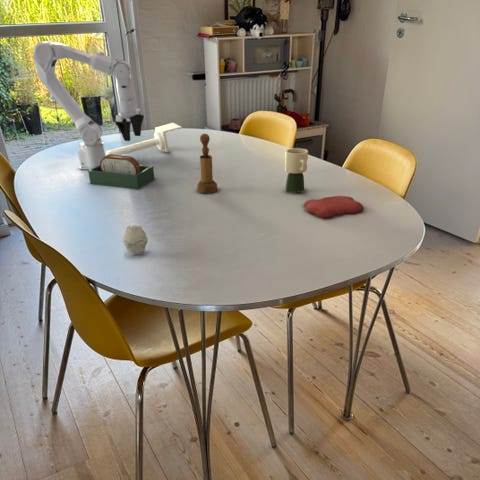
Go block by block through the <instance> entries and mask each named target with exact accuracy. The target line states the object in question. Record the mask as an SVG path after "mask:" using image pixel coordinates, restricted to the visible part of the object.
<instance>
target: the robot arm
mask: <svg viewBox="0 0 480 480" xmlns="http://www.w3.org/2000/svg"><path fill="white" fill-rule="evenodd" d="M32 59H33V61H34V64H35V69H36V74H37V77H38V79H39V81H40V82H41V83H42V84H43V85H44V87H45V88H46V89H47V91H48V92H49V94H51V95H52V97H53V98H54V99H55V101H56V102H57V103H58V104H59V105H60V107H61V109H63V111H64V112H65V113H66V114H67V116H68V117H69V118H70V119H71V121H72V122H73V123H74V126H75V128H76V131H77V132H78V134H79V135H80V139H81V141H82V142H81V143H79V144H78V146H77V155H78V161H79V165H80V167H79V170H86V171H89V170H91V169H93V168H95V167H97V166H99V165H100V161H101V159H102V158H103V157H105V156H106V151H105V146H104V141H103V140H102V136H103V129H102V127H101V125H100V124H98V123H97V122H95V121H93V119H92V118H91V117H90V116H88V115H87V114H86V113H85V112H84V111H83V109H82V108H81V106H80V105H79V104H78V102H77V101H76V100H75V99H74V97H73V96H72V95H71V94H70V93H69V91H68V90H67V88H65V86H64V84H63V83H62V81H60V79H59V78H58V76H56V75H55V74H56V73H55V72H56V64H57V62H58V60H62V59H69V60H71V61H76V62H79V63H82V64H86V65H89V66H90V67H91V68H92V70H93V71H95V72H98V73H101V74H104V75H107V76H111V77H113V76H114V78H115V81H116V82H115V83H116V92H117V98H118V105H119V111H120V112H119V113H118V114H117V115H115V120H114V123H115V126H117V128H118V129H119V131H120V134H121V136H122V138H123V140H124V141H125V142H130V141H131V126H132V130H133V134H134V136H135V137H141V136H142V135H141V134H142V125H143V121H144V118H145V115H144V114H143V113H142V108H140V107H137V106H136V97H135V90H134V84H133V79H132V76H131V75H132V67H131V65H130V63H129V62H127V61H126V60H125V59H119V58H118V57H116V56H115V57H112V56H109V55H106V54H105V52H104V51H100V52H98V51H97V52H94V53H93V54H90V53H88V52H85V51H83V50H80V49H77V48H76V47H72V46H70V45H67V44H65V43H61V42H54V41H52V40H45V41H41V42H38V43H36V44H35V45H34V46H33V51H32ZM127 119H129V120H127Z"/></svg>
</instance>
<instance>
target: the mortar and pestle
mask: <svg viewBox="0 0 480 480" xmlns="http://www.w3.org/2000/svg"><path fill="white" fill-rule="evenodd" d="M199 139H200V140H199V141H200V142H201V145H202V148H201V152H202V154H201V155H200V156H199V165H200V166H199V167H200V181H199V182H197V184H196V185H197V186H196V187H197V192H198V193H201V194H206V195H207V194H213V193H216V192H218V183H217V182H216V181H215V180H214V177H213V175H214V173H213V156H212V155H210V154H209V153H210V148H209V147H208V145H209V143H210V140H211V138H210V136H209V134H207V133H202V134H200V136H199Z"/></svg>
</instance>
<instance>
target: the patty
mask: <svg viewBox="0 0 480 480" xmlns="http://www.w3.org/2000/svg"><path fill="white" fill-rule="evenodd" d="M303 205H304V207H305V210H306V212H307V213H309V214H310V215H314V216H316V217H317V218H320V219H332V218H334V217H341V216H344V215H355V214H360V213H361V212H363V210H364V205H363V204H362V203H361V202H359V201H357V200H355V199H354V198H353V197H352V196H348V195H333V196H326V197H323V198H319V199H314V198H313V199H307V200H306V201H305V202H304V203H303Z"/></svg>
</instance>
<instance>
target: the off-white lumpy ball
mask: <svg viewBox="0 0 480 480" xmlns="http://www.w3.org/2000/svg"><path fill="white" fill-rule="evenodd" d="M148 241H149V239H148V236H147V233H146V232H145V230H144V229H143V228H142V226H141V225H136V224H133V225H128V226H126V230H125V232H124V234H123V238H122V243H123V245H124V247H125V249H126V251H127V252H128V253H130V254H131V255H141V254H142V253H143V252H144V251H145V249H146V246H147V244H148Z"/></svg>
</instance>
